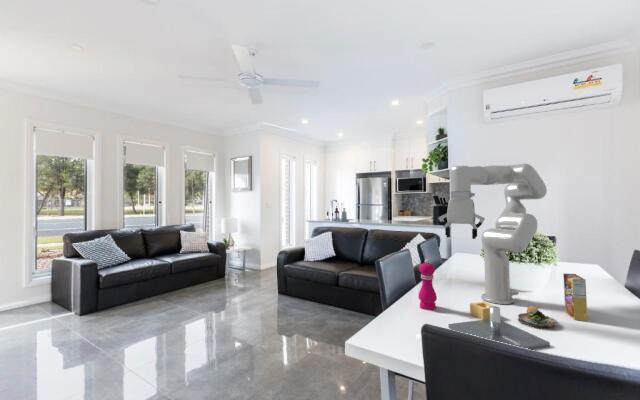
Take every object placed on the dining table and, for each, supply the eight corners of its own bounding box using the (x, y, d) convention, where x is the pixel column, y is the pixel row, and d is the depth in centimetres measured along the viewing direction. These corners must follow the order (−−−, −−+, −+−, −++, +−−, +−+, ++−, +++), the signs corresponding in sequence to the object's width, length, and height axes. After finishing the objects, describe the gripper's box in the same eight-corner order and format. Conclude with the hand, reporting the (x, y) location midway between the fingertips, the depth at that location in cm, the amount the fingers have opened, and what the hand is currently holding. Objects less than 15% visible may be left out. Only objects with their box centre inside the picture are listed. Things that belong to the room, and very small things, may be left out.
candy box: (563, 311, 119) (562, 272, 119) (577, 313, 117) (576, 273, 118) (573, 320, 111) (572, 278, 111) (587, 321, 109) (586, 279, 109)
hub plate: (496, 321, 110) (495, 296, 110) (549, 346, 91) (549, 315, 91) (448, 327, 105) (447, 301, 106) (494, 355, 86) (493, 322, 86)
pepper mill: (438, 310, 122) (437, 261, 122) (419, 309, 123) (418, 260, 124) (435, 305, 129) (434, 258, 129) (417, 304, 130) (416, 257, 131)
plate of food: (545, 333, 101) (544, 310, 101) (510, 320, 111) (510, 300, 112) (566, 326, 105) (565, 305, 106) (531, 315, 116) (530, 296, 116)
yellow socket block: (484, 311, 120) (484, 300, 120) (497, 317, 114) (497, 305, 114) (470, 313, 118) (469, 301, 118) (482, 319, 112) (482, 307, 112)
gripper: (485, 196, 122) (486, 238, 122) (441, 196, 132) (441, 236, 132) (482, 195, 116) (483, 240, 116) (436, 196, 126) (436, 237, 126)
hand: (460, 237), depth 124 cm, fingers open, 9 cm apart
